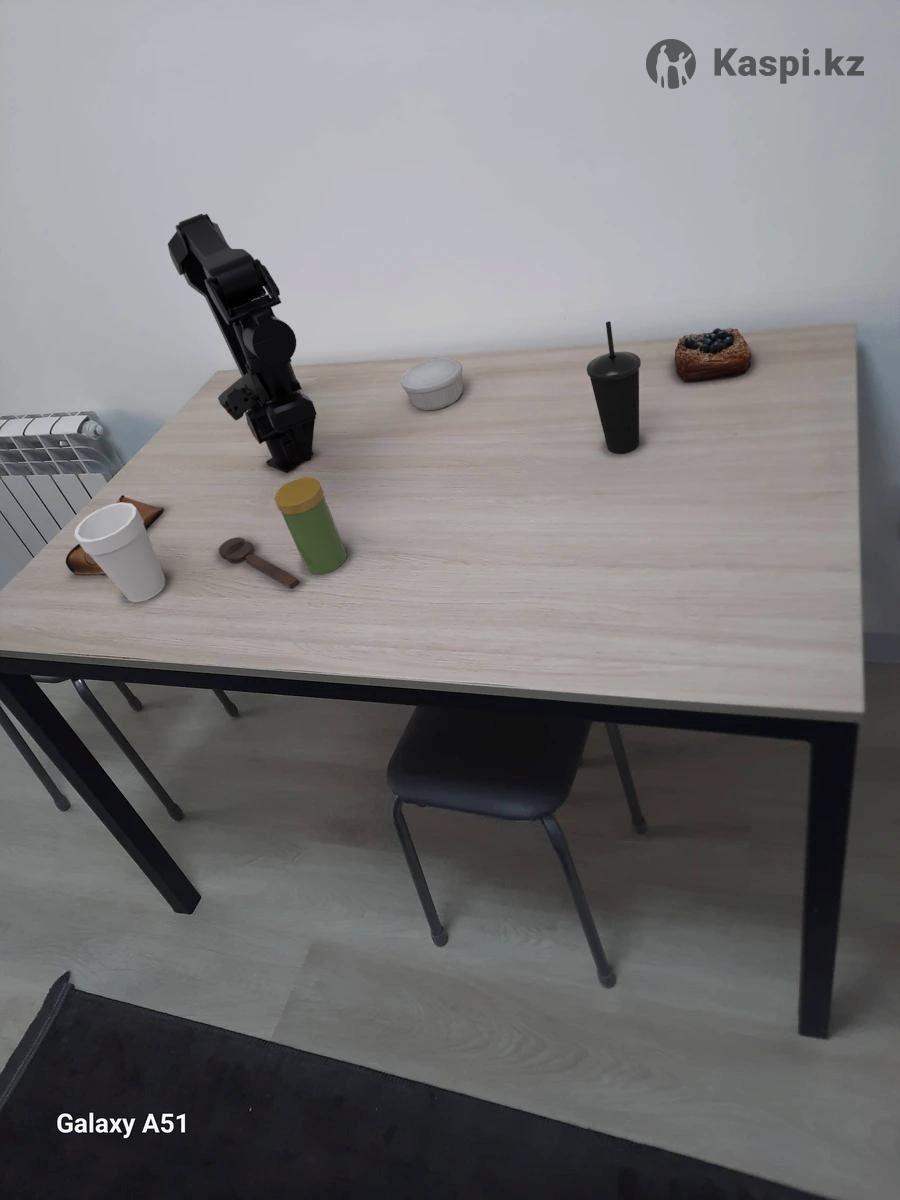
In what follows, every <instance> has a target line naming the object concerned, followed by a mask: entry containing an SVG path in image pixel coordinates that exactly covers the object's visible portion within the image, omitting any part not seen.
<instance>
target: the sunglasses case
mask: <svg viewBox="0 0 900 1200" xmlns="http://www.w3.org/2000/svg"><path fill="white" fill-rule="evenodd" d="M121 502H123V503H132V504H133V505H134V506H135V507H136V508H137V510H138V512H139V514H140V515H141V517H142V519H143V521H144V523H143V524H144V527H145V529H146V530H147V529H148V528H149V527H150V526H151V525H152V523H153V522H154V521H155V520H156V518H158V516H159V515H160V513H161V512H162V511H163V510H164V507H163V506H162V507H156V506H154V505H151V504H147V503H145V502H141V501H138V500H136V499H133V498H129V497H126V496H125V495H124V494H122V495H120V497H119V498H118V500H117V501H116V503H121ZM65 564H66V567H67V568H68V570H69V571H70V572H71V573H73V574H75V575H76V576H77V575H78V576H97V575H98V576H101V575H107V574H106V573H105V572H104V571H103V570H102V569H101V567H100V566H99V565H98V564H97V563H96V562H95V561H94V559H93V558H92V557H91V556H90V555H89V554H87V553H86V552H85V551H84V550H83V548H82V547H81V545H80V544H79V543H78V544H76V545H75V546H74V547H73V548H72V549H71V550H69V551H68V553H67V555H66V557H65Z"/></svg>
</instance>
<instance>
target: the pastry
mask: <svg viewBox="0 0 900 1200" xmlns="http://www.w3.org/2000/svg"><path fill="white" fill-rule="evenodd" d="M751 360H752V351H751V347H750V345H749V343H748V342H747V341H746V340H745V338H744V336H743V335H742V334H741V333H740V331H739V330H738V328H732V327H727V328H725V329H724V328H723V329H721V328H719V327H716V328H715V329H713V330H712V331H711V332H702V333H699V334H697V333H695V334H693V333H691V334H685V335H683V336H682V338H678V342H677V345H676V348H675V350H674V365H675V372H676V375H677V377H678V379H679V380H680V381H682V382H683V383H687V384H689V383H702V382H709V381H719V380H725V379H732V378H736V377H739V376H744V375H745V374H746V373H747V372H748V371H749V369H750V367H751Z"/></svg>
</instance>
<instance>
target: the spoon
mask: <svg viewBox="0 0 900 1200" xmlns="http://www.w3.org/2000/svg"><path fill="white" fill-rule="evenodd" d="M218 553H219V555H220V557H221V558H222V559H224V560H227V561H228V562H229V563H231V564H239V563H242V562H246V563H247V564H248V565H250V566H251V567H253V568H255V569H257V570H259V572H261V573H263V574H265V575H267V576H269V577H270V578H272V579H274V580H275V581H277V582H279V583H281V584H282V585H284V586H285V587H287V588H289V589H290V590H291V589H294V588H295V587H296V586H298V585H299V584H300V583H301V582H300V581H299V578H298V577H296V576H293V575H292V574H290V573H289V572H286V571H285V570H283V569H282V568H280V567H278V566H276V565H274V564H272V563H271V562H269V561H267V560H266V559H264V558H262V557H261V556H259V555H257V554H255V547H254V546H253V544H252V543H251V542H250V541H249V540H248V541H247V540H245V538H243V537H239V536H238V537H233V538H230V539H227V540H226V541H224V542H223V543H222V544H221V545H220V546H219V547H218Z"/></svg>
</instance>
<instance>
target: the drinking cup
mask: <svg viewBox="0 0 900 1200" xmlns="http://www.w3.org/2000/svg"><path fill="white" fill-rule="evenodd" d="M605 328H606V337H607V344H608V352H607V353H605V354H602V355H599V356H597V357H595V358H593V359H592V360H591V361H590V362H588V364H587V365H586V374H587V375H588V377H589V380H590V384H591V387H592V392H593V395H594V400H595V403H596V407H597V411H598V415H599V420H600V424H601V429H602V432H603V436H604V440H605V443H606V447H607V450H608V451H609V452H610V453H612V454H616V455H625V454H628V453H629V454H630V453H631V452H634V451H635V450H637V448H639V445H640V367H641V366H642V365H641V364H642V363H641V362H642V361H641V358H640V356H639V355H637V354H636V353H634V352H630V351H615V346H614V339H613V330H612V322H611V321H606V322H605Z"/></svg>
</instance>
